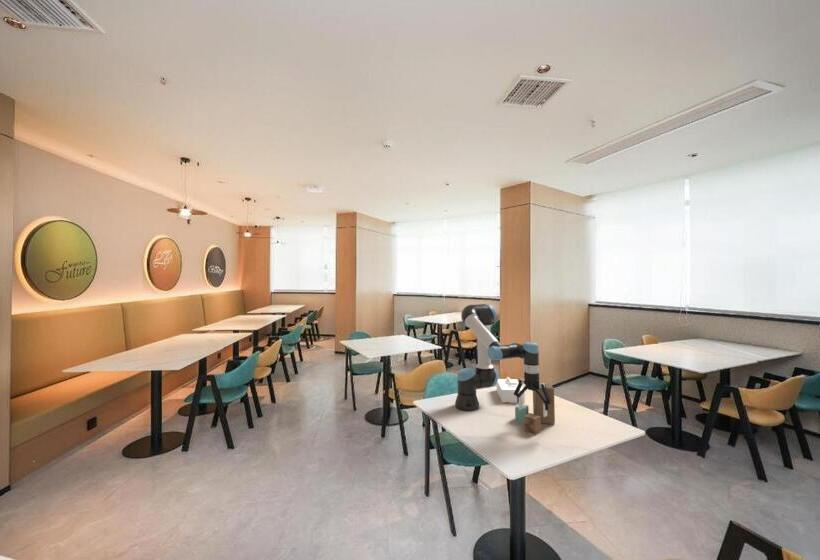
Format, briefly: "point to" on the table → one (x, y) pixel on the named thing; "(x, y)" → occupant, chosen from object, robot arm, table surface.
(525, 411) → the teal block
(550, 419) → the block
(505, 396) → the tissue box
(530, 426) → the walnut block
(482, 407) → the table surface
